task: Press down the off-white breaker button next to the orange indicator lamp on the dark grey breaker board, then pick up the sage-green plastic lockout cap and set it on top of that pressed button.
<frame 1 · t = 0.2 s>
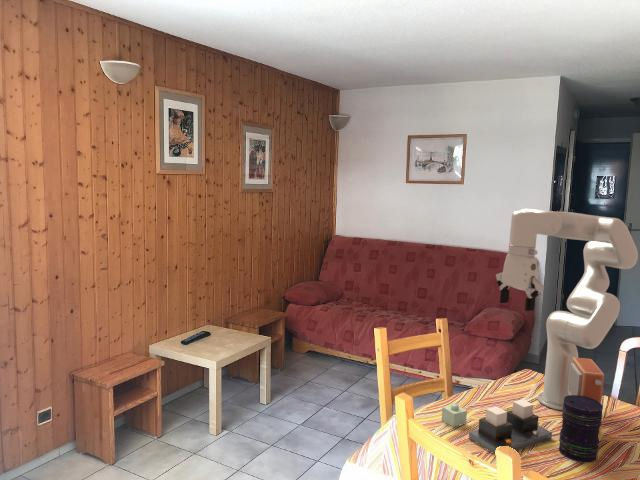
hand: (516, 306, 162), 36 cm above the table, tool pointing down, fingers open, 9 cm apart
lockout cap: (453, 422, 164), on the table
breaker board: (510, 438, 155), on the table
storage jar: (577, 453, 148), on the table
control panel: (580, 433, 159), on the table
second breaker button: (522, 411, 157), point 7 cm above the table, slide at 0.0 cm
tagged breaker button: (495, 418, 152), point 7 cm above the table, slide at 0.0 cm
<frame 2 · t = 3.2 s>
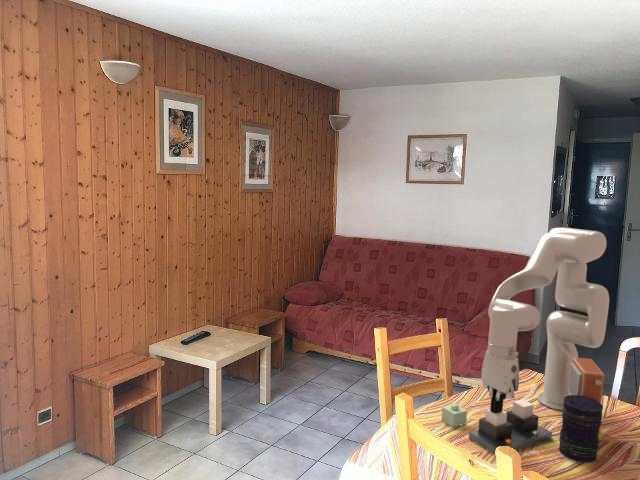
hand: (496, 411, 152), 9 cm above the table, tool pointing down, fingers closed
tagged breaker button: (495, 419, 152), point 7 cm above the table, slide at 0.3 cm, touching gripper
everything else where it was.
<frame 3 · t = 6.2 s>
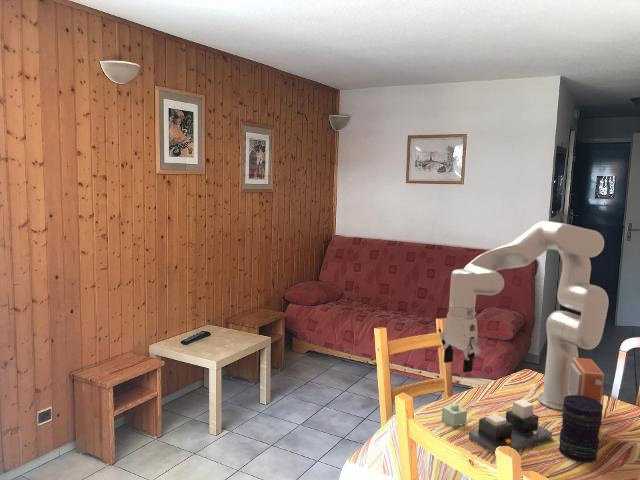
hand: (457, 366, 161), 18 cm above the table, tool pointing down, fingers open, 7 cm apart
tagged breaker button: (495, 426, 152), point 5 cm above the table, slide at 2.3 cm
everything else where it was.
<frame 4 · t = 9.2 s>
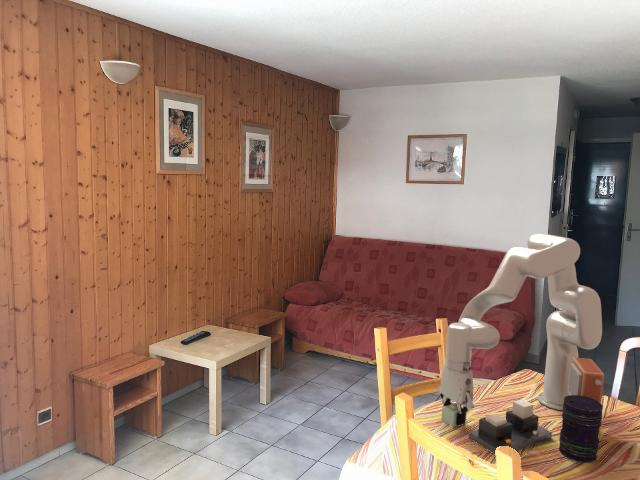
hand: (453, 419, 164), 1 cm above the table, tool pointing down, fingers closed on lockout cap, 5 cm apart
lockout cap: (453, 421, 164), on the table, touching gripper
everything else where it was.
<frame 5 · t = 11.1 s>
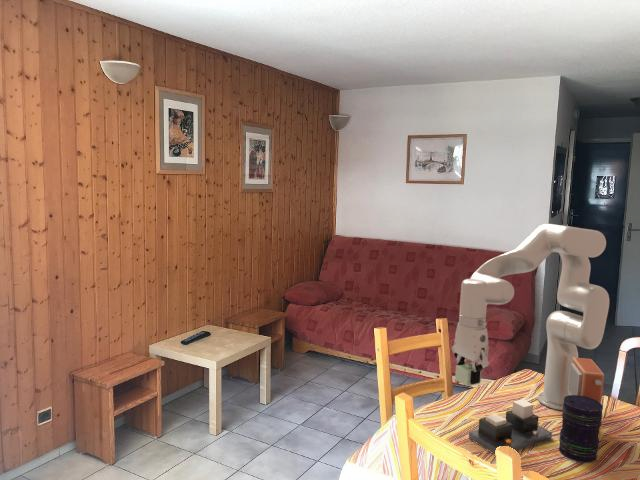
hand: (467, 378, 159), 15 cm above the table, tool pointing down, fingers closed on lockout cap, 5 cm apart
lockout cap: (467, 381, 159), point 14 cm above the table, touching gripper
everything else where it was.
when the fingers open (9 cm above the table, at t = 13.3 s): lockout cap drops 1 cm, resting on tagged breaker button.
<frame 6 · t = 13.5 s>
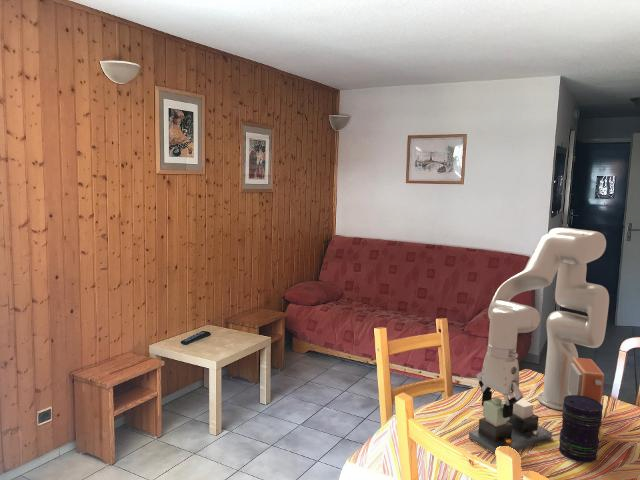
hand: (496, 410, 152), 9 cm above the table, tool pointing down, fingers open, 7 cm apart
lockout cap: (495, 417, 152), point 7 cm above the table, touching tagged breaker button
tagged breaker button: (495, 426, 152), point 5 cm above the table, slide at 2.3 cm, touching lockout cap
everything else where it was.
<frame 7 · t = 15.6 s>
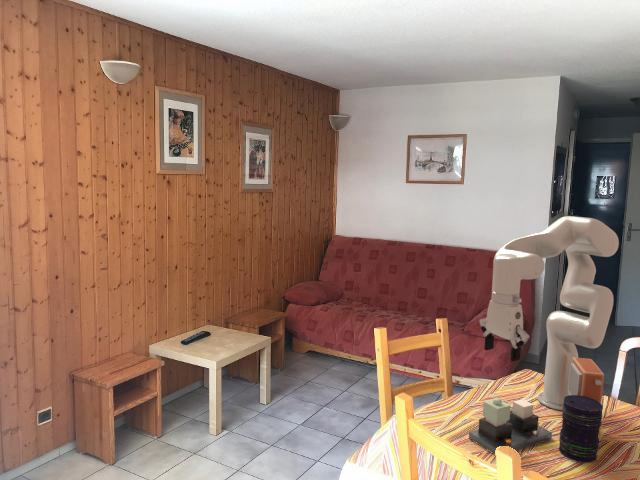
hand: (501, 354, 155), 24 cm above the table, tool pointing down, fingers open, 9 cm apart
nothing on the table moved.
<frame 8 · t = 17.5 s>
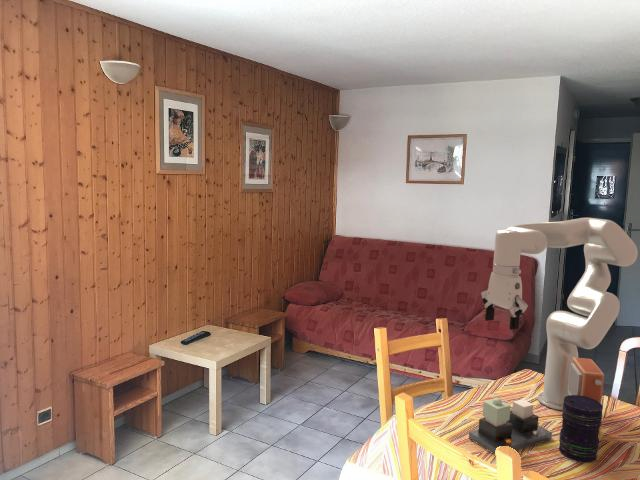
hand: (501, 324, 164), 30 cm above the table, tool pointing down, fingers open, 9 cm apart
nothing on the table moved.
at the end: tagged breaker button slide at 2.3 cm; lockout cap 0.1 cm from the target spot on the breaker board, point 7.1 cm above the breaker board's base; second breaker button slide at 0.0 cm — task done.
